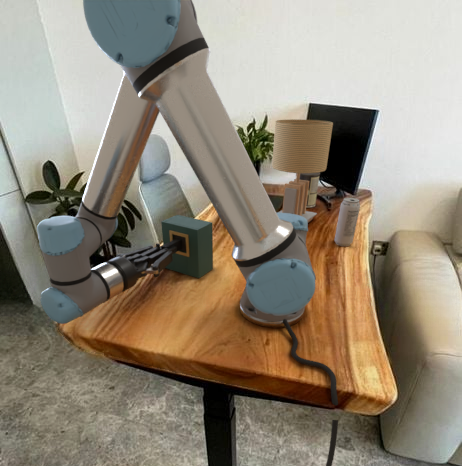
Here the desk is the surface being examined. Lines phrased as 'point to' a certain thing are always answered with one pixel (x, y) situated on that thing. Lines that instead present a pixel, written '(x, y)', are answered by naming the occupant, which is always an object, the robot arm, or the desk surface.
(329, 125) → the desk lamp
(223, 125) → the robot arm
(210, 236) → the teal green box
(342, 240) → the energy drink can
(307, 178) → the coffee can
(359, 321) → the desk surface
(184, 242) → the button
